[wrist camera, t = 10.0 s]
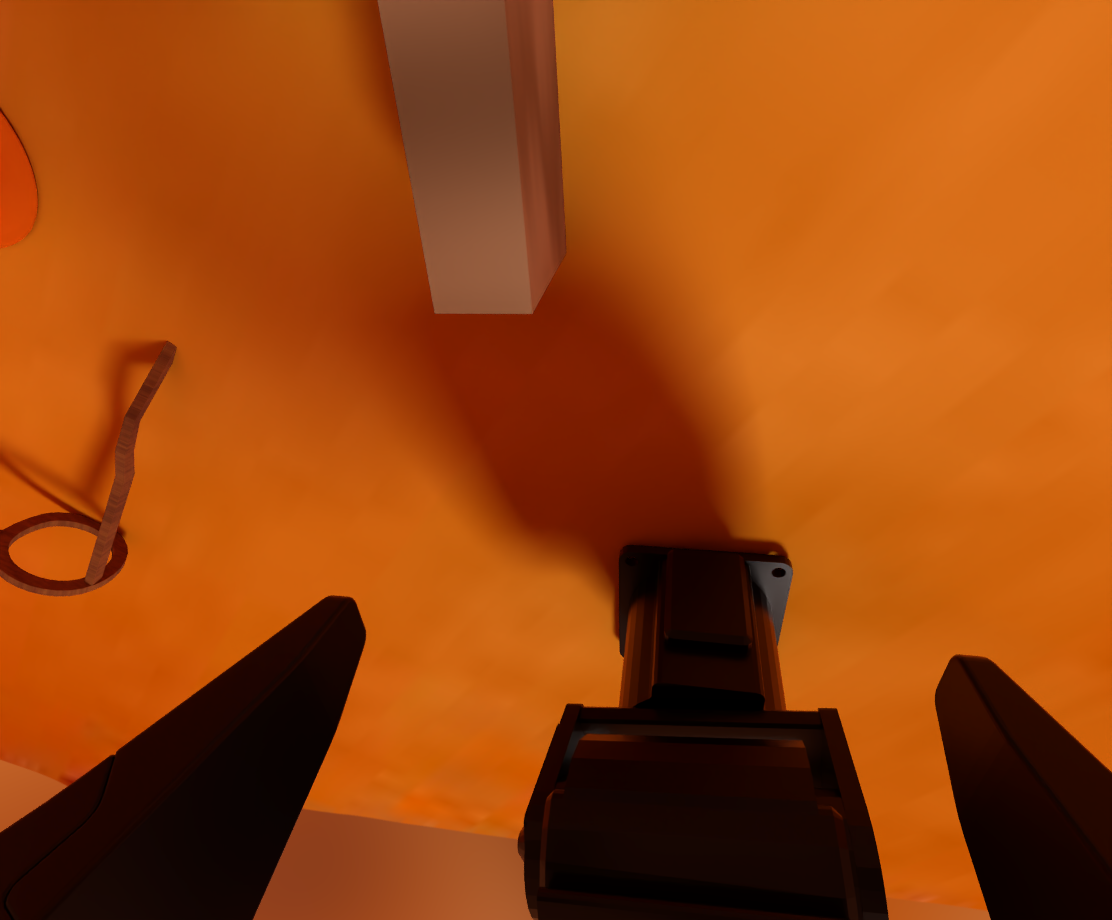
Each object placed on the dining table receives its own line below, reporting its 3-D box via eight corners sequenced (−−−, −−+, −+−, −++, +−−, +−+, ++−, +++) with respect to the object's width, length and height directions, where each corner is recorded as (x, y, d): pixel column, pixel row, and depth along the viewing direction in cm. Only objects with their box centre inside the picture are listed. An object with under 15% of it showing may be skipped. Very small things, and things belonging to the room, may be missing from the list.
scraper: (769, 248, 17) (794, 314, 13) (316, 256, 20) (220, 313, 16) (831, -233, 12) (904, -370, 8) (205, -140, 15) (19, -208, 10)
